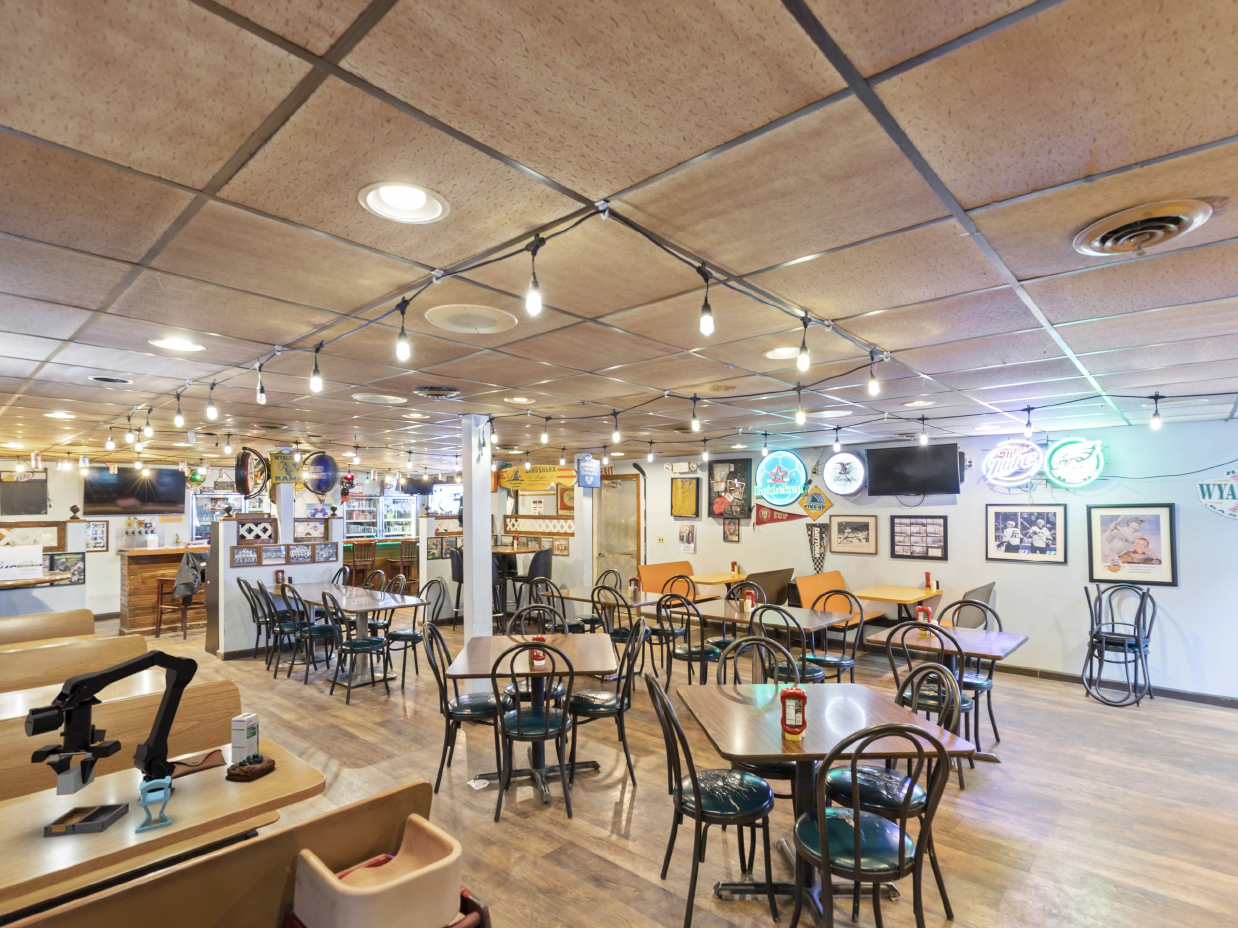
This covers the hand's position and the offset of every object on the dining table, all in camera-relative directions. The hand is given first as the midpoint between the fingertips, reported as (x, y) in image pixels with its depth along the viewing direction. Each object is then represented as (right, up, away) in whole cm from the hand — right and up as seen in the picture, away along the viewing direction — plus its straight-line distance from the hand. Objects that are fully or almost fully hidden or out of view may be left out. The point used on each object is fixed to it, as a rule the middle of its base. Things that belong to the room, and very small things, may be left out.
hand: (75, 783), depth 168 cm
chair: (+22, -10, -1) cm, 24 cm away
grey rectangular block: (0, -1, 0) cm, 1 cm away
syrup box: (+21, -13, +41) cm, 48 cm away
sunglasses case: (+8, -14, +34) cm, 38 cm away
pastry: (+30, -12, +29) cm, 44 cm away
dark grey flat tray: (+3, -11, 0) cm, 11 cm away
